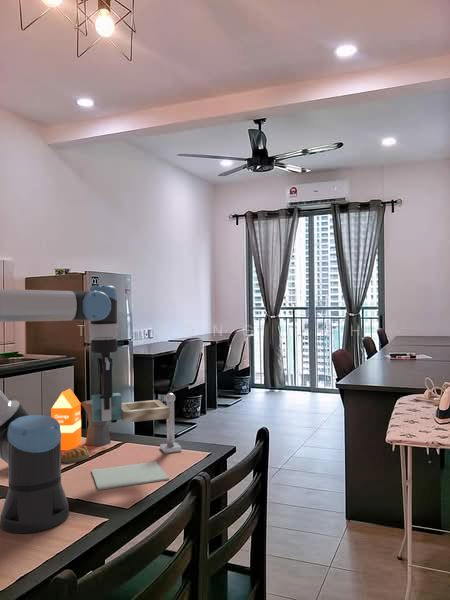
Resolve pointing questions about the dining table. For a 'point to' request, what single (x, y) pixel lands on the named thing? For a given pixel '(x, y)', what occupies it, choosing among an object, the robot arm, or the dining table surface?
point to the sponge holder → (130, 409)
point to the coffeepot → (96, 428)
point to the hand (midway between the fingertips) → (105, 418)
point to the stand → (170, 427)
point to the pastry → (75, 455)
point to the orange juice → (68, 419)
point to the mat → (128, 475)
